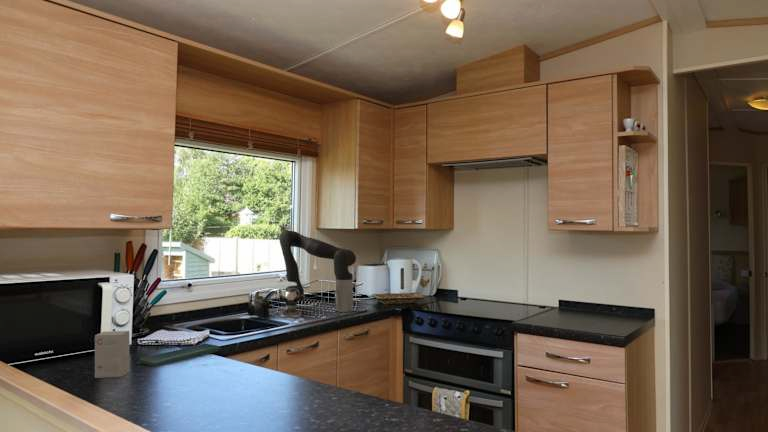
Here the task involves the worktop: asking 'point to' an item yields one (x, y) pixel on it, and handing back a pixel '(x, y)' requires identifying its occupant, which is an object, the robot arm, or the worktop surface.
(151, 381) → the worktop surface
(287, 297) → the lens
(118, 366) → the small box
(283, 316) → the base board
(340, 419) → the worktop surface
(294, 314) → the mount ring
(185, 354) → the dark green board
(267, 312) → the camera
